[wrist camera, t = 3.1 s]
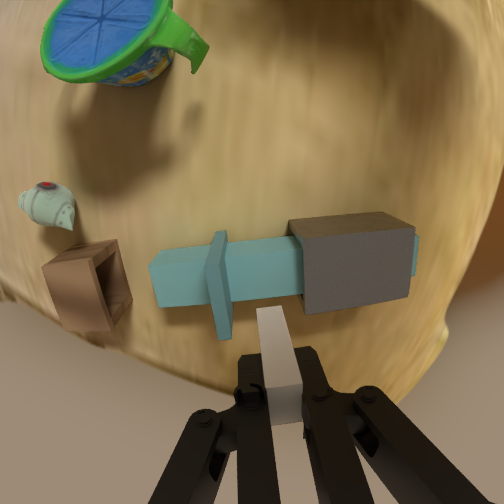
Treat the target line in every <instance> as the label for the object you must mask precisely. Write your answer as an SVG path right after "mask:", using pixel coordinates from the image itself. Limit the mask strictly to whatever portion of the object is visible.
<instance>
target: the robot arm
mask: <svg viewBox="0 0 504 504" xmlns="http://www.w3.org/2000/svg"><path fill="white" fill-rule="evenodd" d="M256 312H257V321H258V329H259V338H260V347H261V353H258V354H249V355H242V356H241V358H240V359H239V361H238V386H237V387H236V388H235V390H234V398H235V402H236V403H235V405H234V406H233V407H231V408H230V409H227V410H225V411H222V412H219V413H217V412H216V411H214V410H211V409H202V410H198V411H196V412H194V413H193V414H192V415H191V416H190V418H189V420H188V422H187V424H186V426H185V428H184V430H183V432H182V434H181V437H180V439H179V441H178V443H177V445H176V447H175V449H174V451H173V453H172V455H171V457H170V460H169V462H168V464H167V466H166V468H165V470H164V472H163V474H162V476H161V478H160V480H159V482H158V484H157V486H156V488H155V490H154V492H153V494H152V496H151V498H150V501H149V502H148V504H213V503H214V501H215V498H216V495H217V492H218V489H219V486H220V483H221V480H222V477H223V474H224V471H225V467H226V465H227V462H228V458H229V455H230V452H232V451H235V450H237V480H238V482H237V483H238V504H281V501H280V494H279V486H278V479H277V470H276V462H275V454H274V446H273V438H272V431H271V426H272V425H281V424H288V423H295V422H301V421H302V419H303V423H304V432H303V439H306V444H307V449H308V453H309V457H310V462H311V467H312V472H313V476H314V481H315V485H316V491H317V496H318V500H319V504H374V501H373V498H372V494H371V491H370V488H369V485H368V482H367V479H366V477H365V474H364V471H363V468H362V465H361V462H360V459H359V456H358V454H357V451H356V448H355V446H356V447H357V448H358V450H359V451H360V453H361V454H362V456H363V457H364V458H365V459H366V461H367V462H368V464H369V465H370V466H371V468H372V469H373V470H374V472H375V473H376V474H377V475H378V477H379V478H380V480H381V481H382V482H383V483H384V484H385V486H386V487H387V489H388V490H389V491H390V493H391V494H392V495H393V497H394V498H395V499H396V500H397V502H398V503H399V504H495V503H492V502H489V501H488V500H487V499H486V498H485V497H484V496H483V495H482V494H481V493H480V492H479V491H478V490H477V489H476V488H475V486H474V485H473V484H472V483H471V482H470V481H469V480H468V479H467V478H466V477H465V476H464V475H463V474H462V473H461V472H460V471H459V470H458V469H457V468H456V467H455V466H454V465H453V464H452V463H451V462H450V461H449V460H448V459H447V458H446V457H445V456H444V455H443V454H442V453H441V452H440V450H439V449H438V448H437V447H436V446H435V445H434V444H433V443H432V442H431V441H430V440H429V439H428V438H427V437H426V436H425V435H424V434H423V433H422V432H421V431H420V430H419V429H418V428H417V427H416V426H415V425H414V424H413V423H412V422H411V420H410V419H409V418H407V417H406V415H405V414H403V412H402V411H401V410H400V409H399V408H398V407H397V406H396V405H395V404H394V403H393V402H392V401H391V400H390V399H389V398H388V397H387V396H386V395H385V394H384V392H383V391H382V390H380V389H379V388H378V387H375V386H363V387H360V388H359V389H357V390H356V392H355V393H340V392H337V391H335V390H333V388H331V387H330V386H329V384H328V382H327V379H326V376H325V374H324V371H323V368H322V366H321V363H320V360H319V358H318V355H317V352H316V351H315V350H314V349H313V348H312V347H311V346H306V347H300V348H293V345H292V342H291V338H290V335H289V331H288V327H287V324H286V320H285V317H284V313H283V309H282V306H281V305H280V306H272V307H264V308H256Z"/></svg>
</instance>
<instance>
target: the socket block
mask: <svg viewBox="0 0 504 504" xmlns="http://www.w3.org/2000/svg"><path fill="white" fill-rule="evenodd" d="M41 268H42V271H43V274H44V278H45V281H46V283H47V286H48V289H49V292H50V295H51V298H52V300H53V303H54V305H55V308H56V311H57V313H58V315H59V318H60V320H61V323H62V325H63V327H64V330H65V331H97V332H111V331H112V330H113V328H114V327H115V325H116V324H117V322H118V321H119V319H120V318H121V316H122V315H123V313H124V312H125V310H126V309H127V307H128V306H129V304H130V303H131V301H132V300H133V299H132V295H131V292H130V288H129V285H128V281H127V278H126V274H125V270H124V267H123V263H122V259H121V255H120V251H119V246H118V242H117V239H114V240H108V241H101V242H95V243H89V244H82V245H76V246H73V247H71V248H69V249H68V250H66V251H65V252H63V253H62V254H60V255H58V256H57V257H55V258H54V259H52V260H51V261H49V262H48V263H46V264H45V265H43V266H42V267H41Z"/></svg>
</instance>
